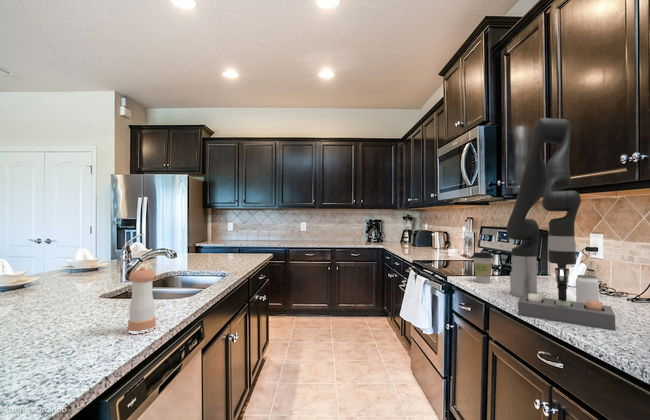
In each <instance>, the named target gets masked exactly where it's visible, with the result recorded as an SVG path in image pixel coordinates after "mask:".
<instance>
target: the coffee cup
mask: <svg viewBox="0 0 650 420" xmlns="http://www.w3.org/2000/svg"><path fill="white" fill-rule="evenodd" d="M471 256H472V258H473V268H474V274H475V281H476V282H477V283H480V284H490V283H491V276H492V269H493V268H492V267H493V259H494V255H493V253H490V252H473V254H472V255H471Z"/></svg>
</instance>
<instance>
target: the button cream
mask: <svg viewBox="0 0 650 420" xmlns="http://www.w3.org/2000/svg"><path fill="white" fill-rule="evenodd" d="M542 298H543V295H542V294H539V293H537V294H535V293H529V294H528V301H532V302H539V303H542Z"/></svg>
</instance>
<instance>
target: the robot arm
mask: <svg viewBox="0 0 650 420" xmlns="http://www.w3.org/2000/svg"><path fill="white" fill-rule="evenodd" d="M571 133H572V128H571V122H570V121H569V120H568V119H565V118H550V117H541V118H539V119H538V120H537V121H536V123H535V125H534V127H533V131H532V135H531V142H530V146H529V152H528V157H527V160H526V164H525V167H524V172H523V173H522V177H521V179H520V180H521V181H520V185H519V189H518V193H517V196H516V200H515V203H514V206H513V208H512V211H511V214H510V216H509V219H508V222H507V225H506V234H507V237H508V238H509V239H511V240H514V241H521V243H520V244H518V245H517V246H515V247H512V249H511V271H510V272H509V284H510V285H509V286H510V287H509V288H510V289H509V292H510V294H512V295H514V296H516V297H520V298H521V296H522V295H525V296H528V294H529V293H535V294H538V264H537V261H538V260H537V255H538V254H537V253H538V250H539V241H540V240H539V238H540V237H539V235H540V229H539V228H540V227H539V224H538V221H536V220H535V219H533V218H527V216H528V213H529V212H530V210H531V209H532V208H533V206H535V205H536V204H537V203H538V202H539V201H540V200H541V199H542V200H541V201H542V202H541V204H542V208H543V209H545V210H546V211H547V212H566V214H565V215H564V216H562V217H555V218H551V219H549V221H548V240H547V251H548V255H547V257H548V262H549V263H550V264H556V265H557V267H555V268H554V274H555V282H556V283H557V286H556V287H557V290H558V292H557V293H558V297H557V300H560V301H568V300H567V290H568V284H569V275H570V268H567V265H575V264H576V263H577V252H576V251H577V247H576V244H577V243H576V239H575V238H576V237H575V234H576V233H575V222H576V219H577V214H578V211H579V209H580V206H581V202H582V198H581V195H580V194H579V192H577V191H576V190H564V189H567V188H569V187H570V186H571V184H572V177H571V171H570V170H571V169H570V151H571V149H570V148H571V135H572V134H571ZM543 144H556V145H557V149H556V150H555V152H554V154H553V155H552V156H551V157H550V158H549V160H548V161H547V162H546V163H545V161H544V158H543V155H542V151H543V150H542V147H543Z"/></svg>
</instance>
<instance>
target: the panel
mask: <svg viewBox="0 0 650 420" xmlns="http://www.w3.org/2000/svg"><path fill="white" fill-rule="evenodd" d="M556 300H558V298H557V299H555V298H550V297H542V303H539V302H532V301H528V296H525V295H522V296H521V297H520V298H519V300H518V301H517V304H518V305H517V307H518V308H517V312H518V316H522V317H523V316H525V317H530V318H537V319H542V320H547V319H548V321H553V320H554V321H555V322H561V323H567V324H574V325H578V324H579V325H580V326H585V327H592V328H599V329H604V330H610V331H616V314H615V312H614V311H613V308H612V306H610V305H603V304H602V311H599V310H591V309H586V303H581V302H576V301H571V300H568V301H569V302H571V307H569V306H562V305H556Z"/></svg>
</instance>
